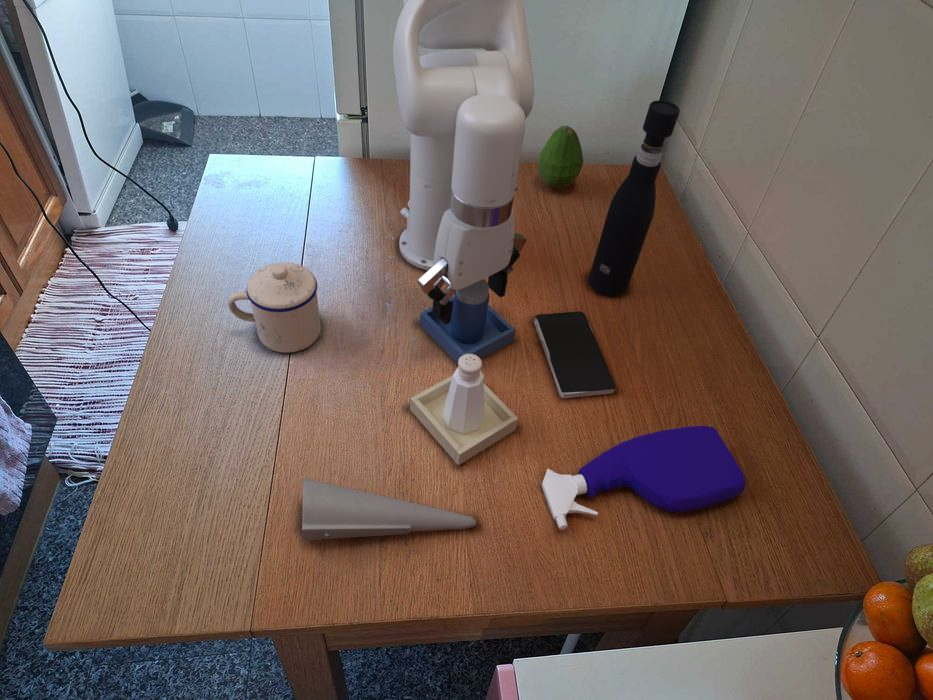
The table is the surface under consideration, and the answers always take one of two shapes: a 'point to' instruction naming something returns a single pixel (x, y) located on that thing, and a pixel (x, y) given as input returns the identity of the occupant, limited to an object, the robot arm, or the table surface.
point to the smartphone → (573, 355)
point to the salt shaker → (465, 396)
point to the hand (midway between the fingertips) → (469, 304)
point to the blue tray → (493, 340)
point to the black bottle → (632, 207)
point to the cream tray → (456, 444)
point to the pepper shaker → (470, 312)
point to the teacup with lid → (282, 306)
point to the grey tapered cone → (368, 514)
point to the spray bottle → (654, 473)
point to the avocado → (561, 158)
